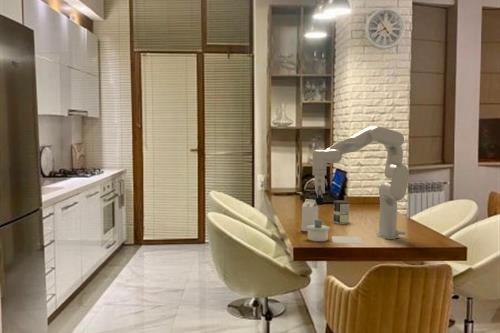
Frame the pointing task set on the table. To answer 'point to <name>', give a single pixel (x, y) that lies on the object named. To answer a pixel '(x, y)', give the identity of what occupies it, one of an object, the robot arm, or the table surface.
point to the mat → (347, 239)
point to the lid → (318, 226)
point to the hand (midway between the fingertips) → (319, 203)
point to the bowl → (318, 235)
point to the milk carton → (309, 213)
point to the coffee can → (341, 212)
